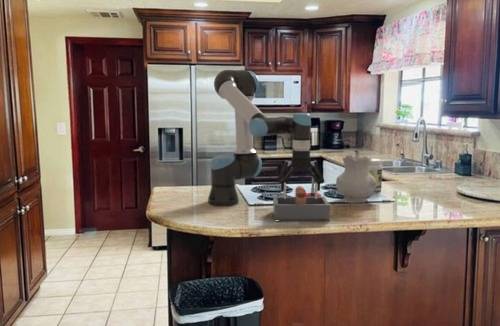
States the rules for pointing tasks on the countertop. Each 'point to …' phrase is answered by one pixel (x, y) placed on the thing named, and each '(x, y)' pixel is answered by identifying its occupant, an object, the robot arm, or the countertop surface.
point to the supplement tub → (376, 172)
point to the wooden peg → (300, 195)
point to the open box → (301, 209)
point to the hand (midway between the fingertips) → (300, 198)
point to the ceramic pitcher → (356, 179)
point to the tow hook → (312, 190)
